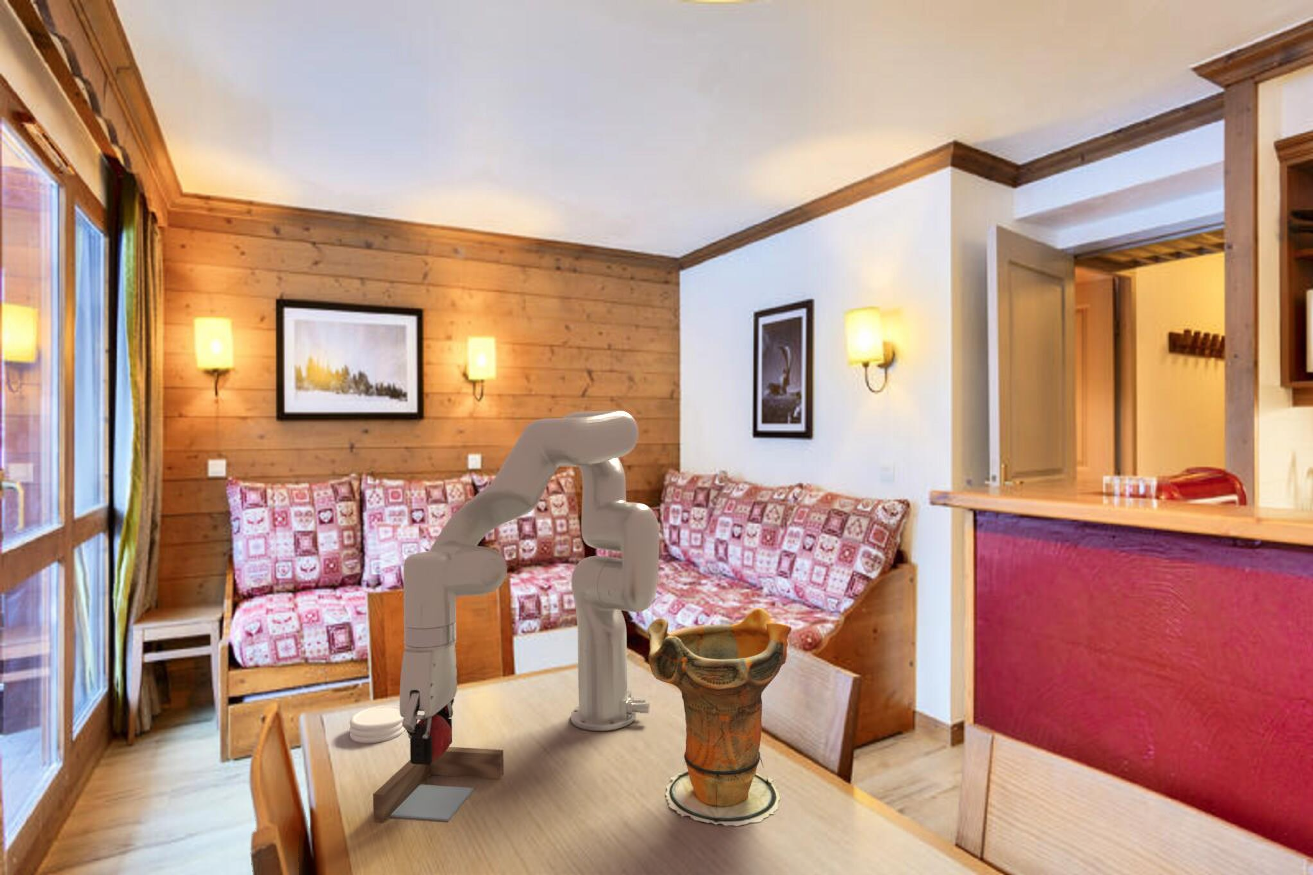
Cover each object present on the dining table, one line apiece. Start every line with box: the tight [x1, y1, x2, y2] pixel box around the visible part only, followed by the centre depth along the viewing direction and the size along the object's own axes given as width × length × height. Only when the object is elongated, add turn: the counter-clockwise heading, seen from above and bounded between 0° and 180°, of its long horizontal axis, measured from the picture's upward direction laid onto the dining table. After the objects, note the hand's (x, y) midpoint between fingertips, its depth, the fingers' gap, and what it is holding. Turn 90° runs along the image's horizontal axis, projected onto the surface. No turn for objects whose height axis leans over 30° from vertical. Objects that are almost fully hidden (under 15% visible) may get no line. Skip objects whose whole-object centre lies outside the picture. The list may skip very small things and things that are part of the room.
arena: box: [372, 746, 505, 823], centre depth 109 cm, size 14×16×4 cm
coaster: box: [349, 705, 406, 744], centre depth 134 cm, size 10×10×4 cm
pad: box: [390, 784, 475, 822], centre depth 107 cm, size 9×9×1 cm
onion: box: [417, 714, 453, 762], centre depth 107 cm, size 6×6×8 cm
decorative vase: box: [646, 607, 792, 827], centre depth 108 cm, size 21×23×28 cm
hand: (431, 752), depth 107 cm, fingers closed on onion, 5 cm apart
